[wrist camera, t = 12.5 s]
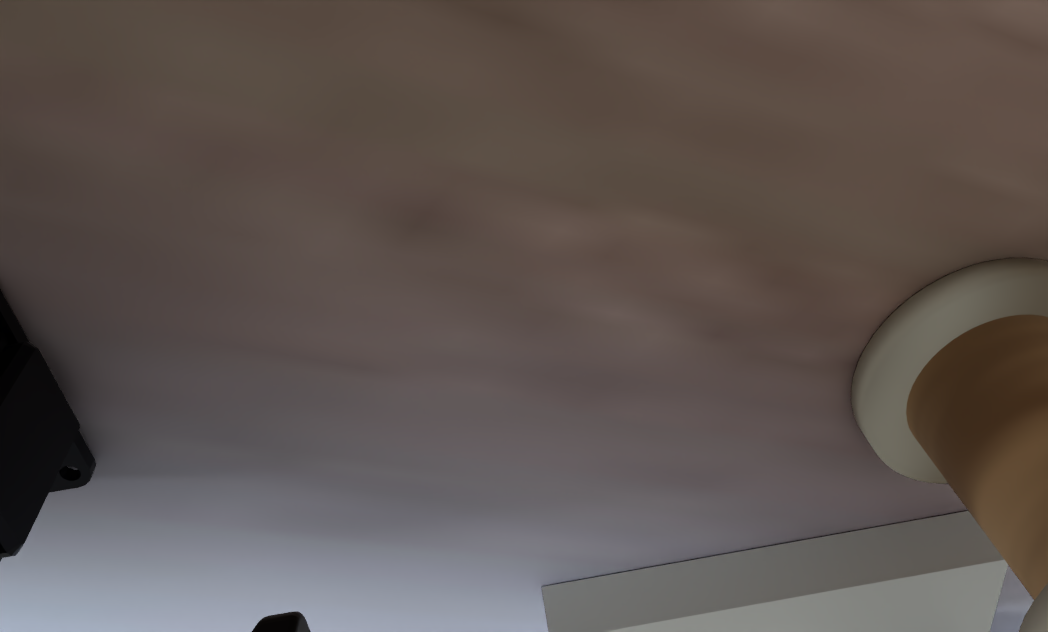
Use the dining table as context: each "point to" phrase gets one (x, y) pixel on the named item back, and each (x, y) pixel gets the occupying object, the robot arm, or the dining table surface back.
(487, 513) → the dining table surface
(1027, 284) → the bobbin
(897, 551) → the notched board
